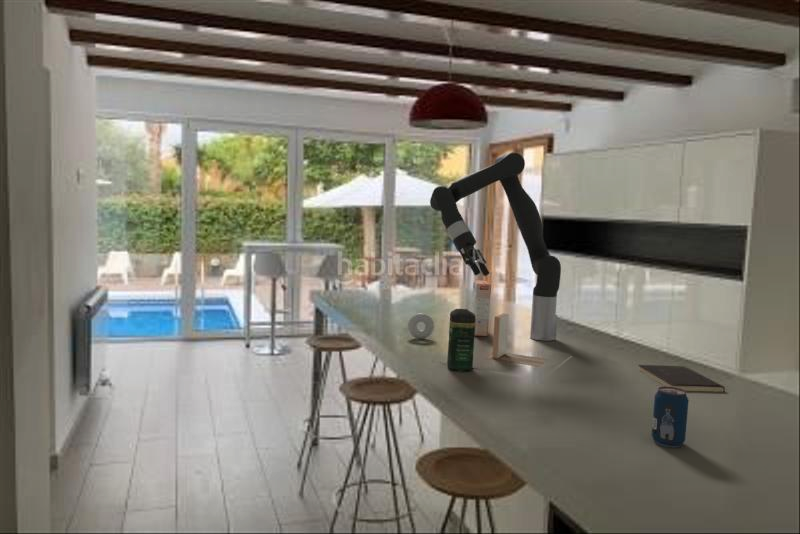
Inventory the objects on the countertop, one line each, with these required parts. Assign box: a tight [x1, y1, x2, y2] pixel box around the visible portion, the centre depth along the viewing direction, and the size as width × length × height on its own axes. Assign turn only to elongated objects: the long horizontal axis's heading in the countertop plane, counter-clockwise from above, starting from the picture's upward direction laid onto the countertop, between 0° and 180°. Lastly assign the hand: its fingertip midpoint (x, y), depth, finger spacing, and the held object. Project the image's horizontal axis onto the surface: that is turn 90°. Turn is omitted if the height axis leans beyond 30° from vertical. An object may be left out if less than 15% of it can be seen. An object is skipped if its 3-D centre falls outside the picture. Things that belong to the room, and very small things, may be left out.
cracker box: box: [471, 279, 492, 337], centre depth 257 cm, size 14×6×21 cm, turn 179°
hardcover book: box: [638, 364, 726, 393], centre depth 197 cm, size 16×23×2 cm
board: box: [485, 352, 549, 367], centre depth 214 cm, size 12×18×1 cm, turn 62°
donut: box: [407, 312, 435, 340], centre depth 242 cm, size 10×4×10 cm, turn 95°
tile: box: [491, 312, 510, 359], centre depth 216 cm, size 2×9×14 cm, turn 152°
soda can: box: [651, 386, 689, 448], centre depth 142 cm, size 7×7×12 cm
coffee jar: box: [446, 308, 476, 372], centre depth 200 cm, size 10×8×19 cm
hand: (482, 274), depth 226 cm, fingers open, 8 cm apart
